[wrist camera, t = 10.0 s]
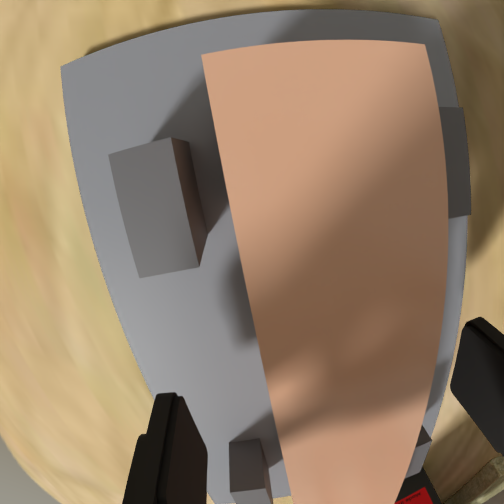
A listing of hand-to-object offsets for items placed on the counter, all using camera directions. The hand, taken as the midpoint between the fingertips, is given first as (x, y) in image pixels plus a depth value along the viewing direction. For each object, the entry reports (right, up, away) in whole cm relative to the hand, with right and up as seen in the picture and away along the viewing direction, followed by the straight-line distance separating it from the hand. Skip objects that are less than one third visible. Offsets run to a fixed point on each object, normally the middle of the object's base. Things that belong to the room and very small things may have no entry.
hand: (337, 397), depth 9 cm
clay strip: (0, +1, +3) cm, 3 cm away
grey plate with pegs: (0, +1, +4) cm, 4 cm away
